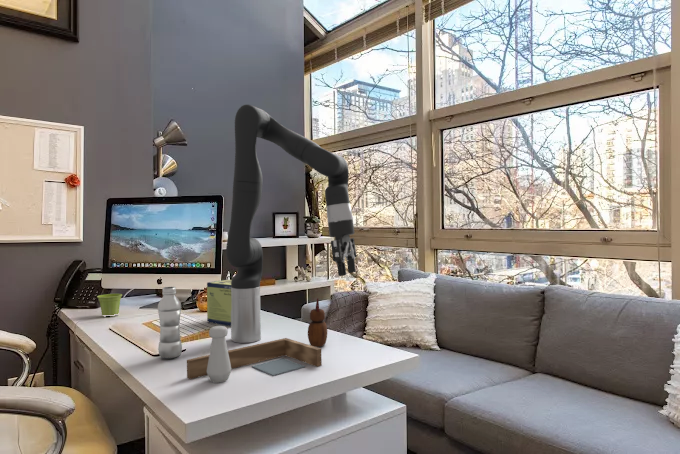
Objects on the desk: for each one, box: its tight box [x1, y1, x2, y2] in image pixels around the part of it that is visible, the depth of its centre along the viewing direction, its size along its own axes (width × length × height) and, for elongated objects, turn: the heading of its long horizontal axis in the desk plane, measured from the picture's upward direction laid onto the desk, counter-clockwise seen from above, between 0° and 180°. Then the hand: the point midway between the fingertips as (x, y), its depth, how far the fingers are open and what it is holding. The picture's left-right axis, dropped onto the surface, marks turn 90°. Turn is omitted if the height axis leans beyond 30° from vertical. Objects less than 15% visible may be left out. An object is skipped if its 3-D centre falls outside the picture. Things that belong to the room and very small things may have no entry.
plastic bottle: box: [157, 286, 183, 359], centre depth 131 cm, size 6×7×20 cm
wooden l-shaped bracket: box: [186, 337, 323, 380], centre depth 118 cm, size 16×30×4 cm, turn 132°
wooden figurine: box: [307, 298, 328, 348], centre depth 142 cm, size 7×6×15 cm
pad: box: [251, 357, 306, 377], centre depth 121 cm, size 10×10×1 cm
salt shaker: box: [206, 325, 232, 384], centre depth 112 cm, size 6×6×13 cm
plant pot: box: [96, 293, 123, 316], centre depth 192 cm, size 9×9×9 cm
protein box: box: [206, 279, 232, 327], centre depth 178 cm, size 10×16×16 cm
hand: (347, 274), depth 137 cm, fingers open, 8 cm apart
